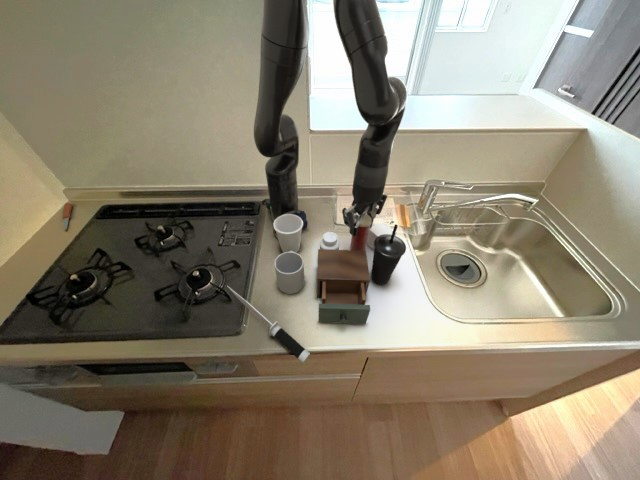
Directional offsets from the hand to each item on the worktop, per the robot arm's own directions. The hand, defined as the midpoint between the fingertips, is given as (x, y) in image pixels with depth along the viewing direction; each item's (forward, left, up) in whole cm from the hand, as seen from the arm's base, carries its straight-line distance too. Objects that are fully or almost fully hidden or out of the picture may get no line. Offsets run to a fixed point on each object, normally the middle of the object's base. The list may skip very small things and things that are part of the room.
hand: (360, 230), depth 72 cm
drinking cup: (+11, -1, -9) cm, 15 cm away
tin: (0, 0, -8) cm, 8 cm away
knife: (+5, -34, -9) cm, 35 cm away
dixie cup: (-13, -16, -9) cm, 22 cm away
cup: (-3, -22, -9) cm, 24 cm away
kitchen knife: (-68, -68, -8) cm, 97 cm away
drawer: (+13, -17, -8) cm, 22 cm away
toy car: (-22, -11, -6) cm, 25 cm away
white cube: (+1, +8, -9) cm, 13 cm away
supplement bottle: (-3, -9, -9) cm, 13 cm away
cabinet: (+6, -12, -9) cm, 16 cm away
